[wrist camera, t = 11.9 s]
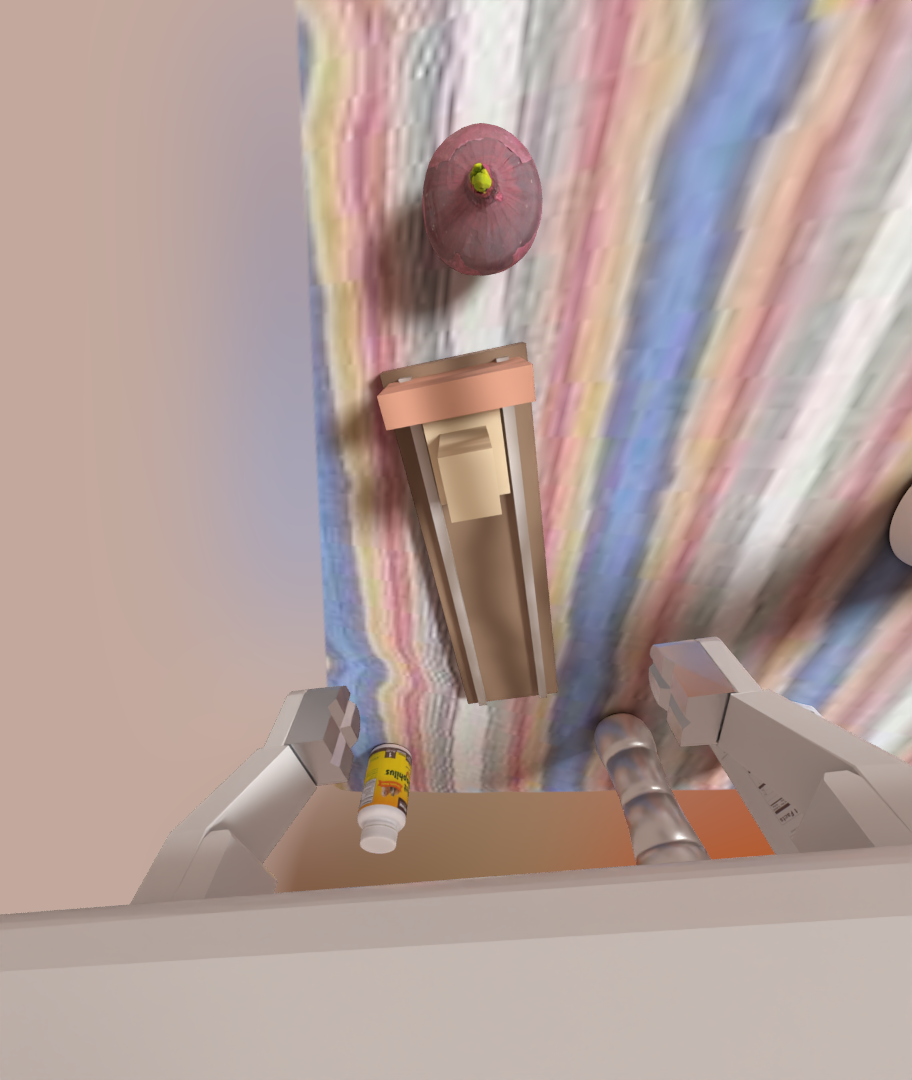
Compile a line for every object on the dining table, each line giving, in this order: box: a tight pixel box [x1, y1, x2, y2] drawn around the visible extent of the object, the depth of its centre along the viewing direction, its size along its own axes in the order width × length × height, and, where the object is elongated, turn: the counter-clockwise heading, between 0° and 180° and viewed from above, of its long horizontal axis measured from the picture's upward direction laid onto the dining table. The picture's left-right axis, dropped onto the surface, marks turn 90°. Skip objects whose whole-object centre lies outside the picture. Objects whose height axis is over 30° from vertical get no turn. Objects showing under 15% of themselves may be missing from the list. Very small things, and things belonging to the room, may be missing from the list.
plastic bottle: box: [594, 713, 711, 865], centre depth 39 cm, size 6×7×20 cm
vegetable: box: [423, 123, 542, 275], centre depth 19 cm, size 6×6×10 cm
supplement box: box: [710, 701, 823, 855], centre depth 40 cm, size 10×9×17 cm
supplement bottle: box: [357, 744, 412, 854], centre depth 46 cm, size 6×6×10 cm
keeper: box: [422, 408, 510, 523], centre depth 25 cm, size 5×6×8 cm
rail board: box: [377, 342, 558, 706], centre depth 33 cm, size 10×35×6 cm, turn 11°
